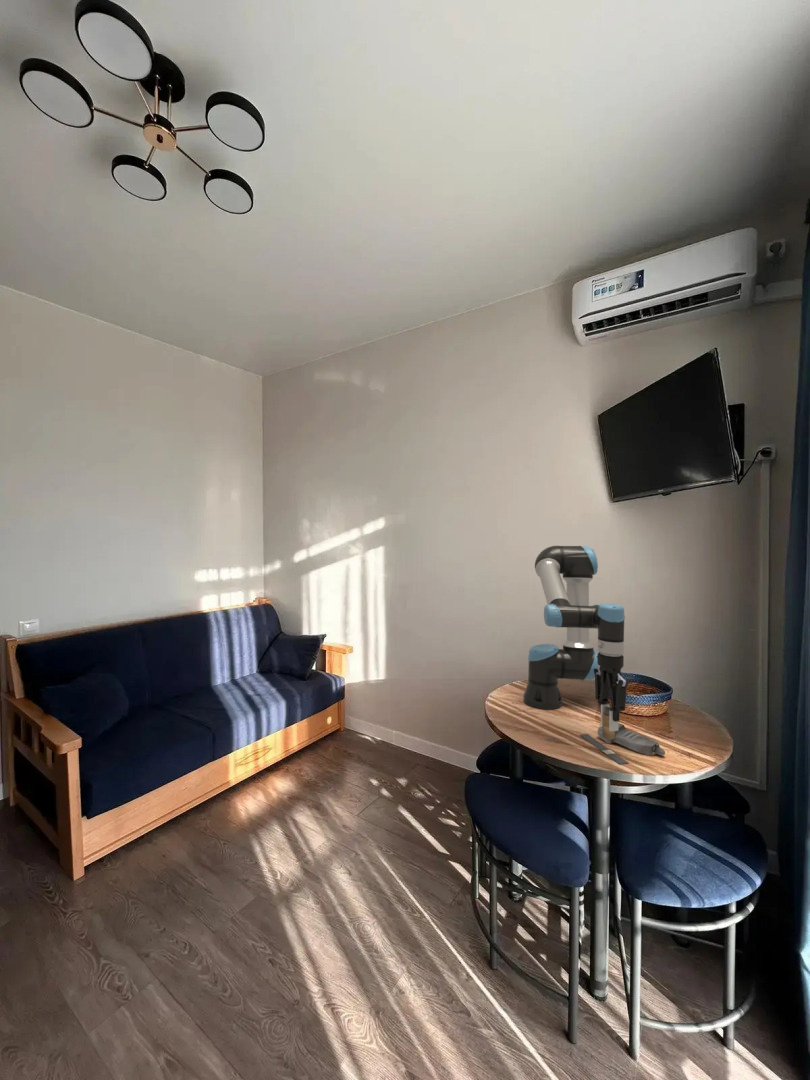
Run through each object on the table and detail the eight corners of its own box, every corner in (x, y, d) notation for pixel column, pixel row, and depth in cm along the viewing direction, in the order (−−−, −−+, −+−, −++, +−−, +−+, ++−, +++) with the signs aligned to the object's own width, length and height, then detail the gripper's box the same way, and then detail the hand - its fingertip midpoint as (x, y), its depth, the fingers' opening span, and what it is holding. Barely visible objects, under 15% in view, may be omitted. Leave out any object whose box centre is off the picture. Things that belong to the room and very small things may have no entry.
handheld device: (658, 763, 135) (658, 748, 135) (595, 739, 151) (595, 726, 151) (671, 754, 142) (671, 739, 142) (608, 732, 157) (609, 719, 157)
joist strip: (579, 735, 153) (579, 734, 153) (587, 734, 154) (587, 733, 154) (619, 764, 134) (619, 763, 134) (628, 763, 134) (628, 762, 134)
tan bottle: (599, 734, 142) (600, 706, 142) (609, 734, 143) (610, 705, 143) (607, 739, 139) (607, 710, 139) (617, 738, 139) (617, 710, 139)
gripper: (584, 647, 148) (582, 718, 148) (617, 661, 132) (616, 740, 132) (603, 646, 150) (602, 716, 150) (639, 659, 133) (638, 738, 134)
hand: (609, 727), depth 141 cm, fingers closed on tan bottle, 3 cm apart
